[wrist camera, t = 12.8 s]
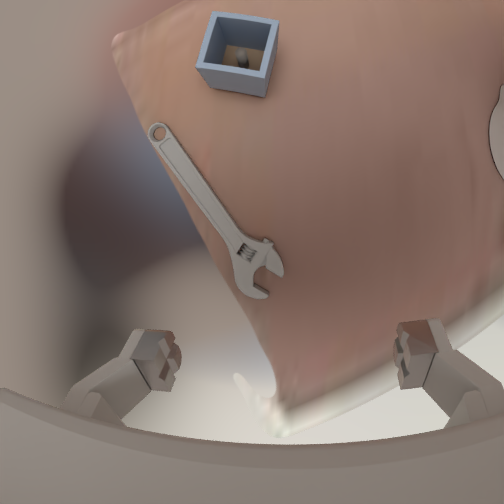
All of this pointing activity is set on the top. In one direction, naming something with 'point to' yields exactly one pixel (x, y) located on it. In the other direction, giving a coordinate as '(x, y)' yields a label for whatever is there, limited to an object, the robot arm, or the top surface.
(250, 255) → the adjustable wrench
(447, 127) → the top surface
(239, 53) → the post stand
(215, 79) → the collar
